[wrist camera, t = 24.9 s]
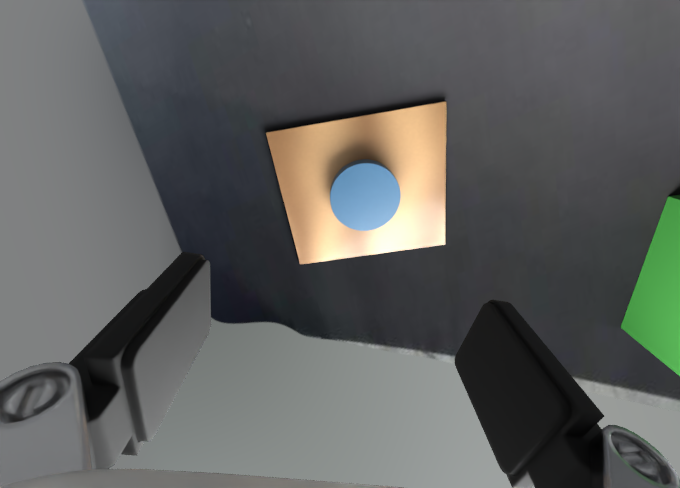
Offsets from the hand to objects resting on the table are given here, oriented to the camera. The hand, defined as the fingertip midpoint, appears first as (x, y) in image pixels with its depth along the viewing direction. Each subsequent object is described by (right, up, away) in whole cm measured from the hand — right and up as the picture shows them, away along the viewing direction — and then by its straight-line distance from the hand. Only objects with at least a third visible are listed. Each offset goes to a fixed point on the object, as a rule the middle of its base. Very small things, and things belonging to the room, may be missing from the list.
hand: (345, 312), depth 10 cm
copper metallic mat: (+2, +8, +19) cm, 20 cm away
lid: (+2, +7, +17) cm, 19 cm away
